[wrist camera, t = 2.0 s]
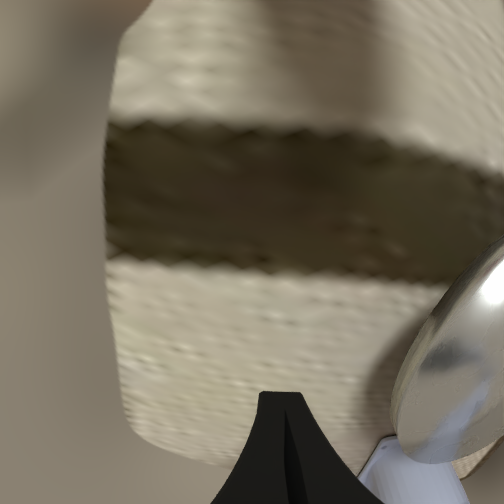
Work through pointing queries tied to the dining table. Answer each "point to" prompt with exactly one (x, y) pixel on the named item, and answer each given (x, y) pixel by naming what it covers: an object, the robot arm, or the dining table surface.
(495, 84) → the dining table surface
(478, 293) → the lid
